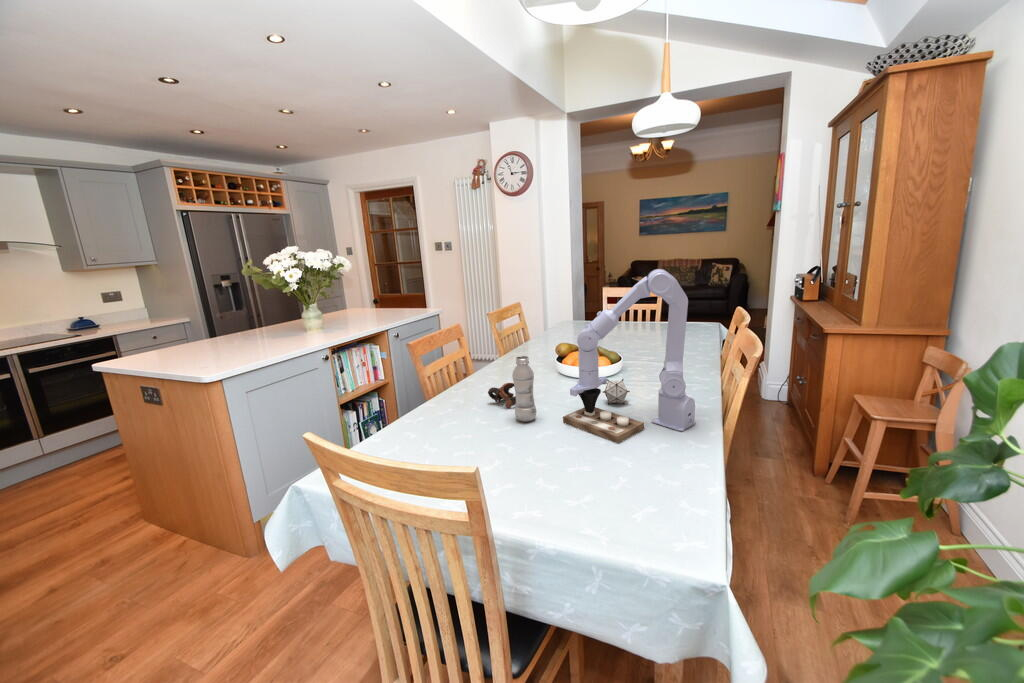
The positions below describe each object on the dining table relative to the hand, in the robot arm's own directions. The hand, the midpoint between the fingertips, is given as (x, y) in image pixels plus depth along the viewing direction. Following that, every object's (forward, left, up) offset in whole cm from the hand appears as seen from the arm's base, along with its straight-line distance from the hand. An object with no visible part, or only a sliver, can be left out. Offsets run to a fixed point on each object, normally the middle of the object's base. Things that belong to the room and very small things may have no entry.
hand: (589, 412), depth 132 cm
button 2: (-12, 0, -1) cm, 12 cm away
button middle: (-6, 0, -1) cm, 6 cm away
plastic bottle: (+14, +13, -2) cm, 20 cm away
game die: (+2, -16, -2) cm, 16 cm away
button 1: (0, 0, -2) cm, 2 cm away
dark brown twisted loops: (+29, +9, -3) cm, 31 cm away
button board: (-6, +1, -2) cm, 7 cm away
